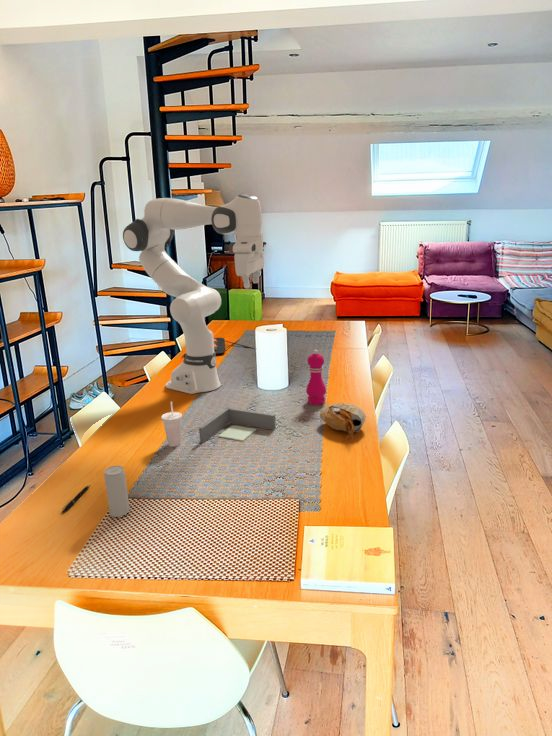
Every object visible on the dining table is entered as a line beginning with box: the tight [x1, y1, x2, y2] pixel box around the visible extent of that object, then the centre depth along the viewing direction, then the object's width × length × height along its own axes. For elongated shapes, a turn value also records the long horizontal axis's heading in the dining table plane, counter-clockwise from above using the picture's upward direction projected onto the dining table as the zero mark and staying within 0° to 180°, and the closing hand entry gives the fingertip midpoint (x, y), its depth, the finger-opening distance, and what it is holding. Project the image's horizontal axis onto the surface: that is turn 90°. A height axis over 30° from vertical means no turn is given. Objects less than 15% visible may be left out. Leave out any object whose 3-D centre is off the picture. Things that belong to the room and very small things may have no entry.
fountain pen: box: [61, 483, 91, 514], centre depth 146 cm, size 14×1×2 cm, turn 170°
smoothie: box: [161, 401, 183, 448], centre depth 174 cm, size 6×6×14 cm
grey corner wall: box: [198, 407, 277, 444], centre depth 180 cm, size 18×18×5 cm
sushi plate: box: [213, 337, 256, 355], centre depth 280 cm, size 29×30×4 cm
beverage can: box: [103, 465, 131, 518], centre depth 137 cm, size 5×5×12 cm
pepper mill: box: [305, 349, 327, 406], centre depth 203 cm, size 7×7×20 cm
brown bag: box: [319, 402, 367, 442], centre depth 179 cm, size 8×22×15 cm
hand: (251, 285), depth 193 cm, fingers open, 8 cm apart
